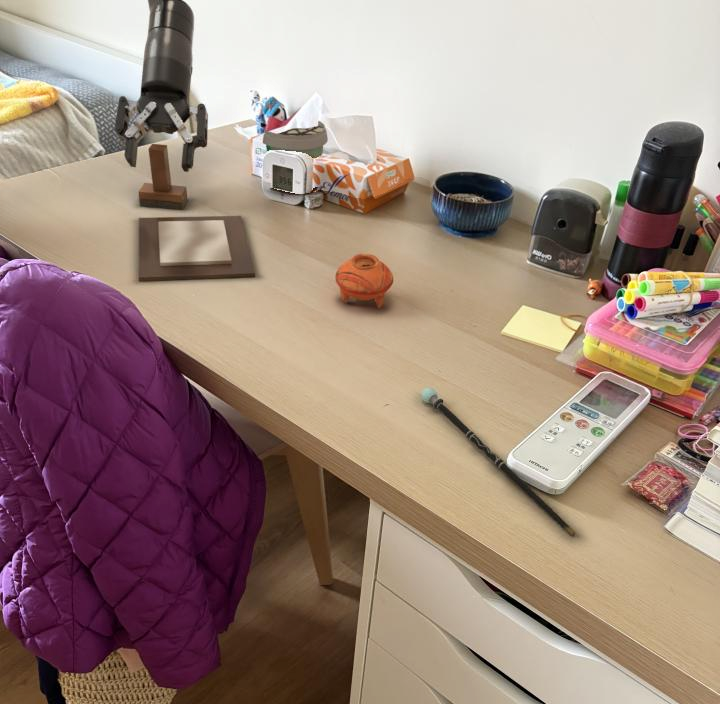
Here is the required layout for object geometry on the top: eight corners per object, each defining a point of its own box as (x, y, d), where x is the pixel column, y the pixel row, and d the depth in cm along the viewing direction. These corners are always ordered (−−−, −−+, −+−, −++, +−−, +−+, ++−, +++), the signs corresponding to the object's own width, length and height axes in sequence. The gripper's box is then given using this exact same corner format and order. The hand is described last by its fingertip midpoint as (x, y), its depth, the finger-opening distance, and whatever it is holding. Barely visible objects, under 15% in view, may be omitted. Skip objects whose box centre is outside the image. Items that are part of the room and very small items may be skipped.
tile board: (139, 281, 99) (137, 273, 98) (139, 221, 113) (138, 213, 112) (255, 276, 102) (254, 269, 101) (241, 219, 116) (240, 211, 116)
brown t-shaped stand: (139, 206, 117) (132, 148, 111) (146, 196, 120) (138, 140, 114) (182, 209, 117) (177, 152, 111) (187, 200, 120) (182, 144, 114)
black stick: (569, 544, 69) (566, 537, 68) (421, 399, 84) (416, 392, 82) (582, 532, 69) (580, 525, 67) (432, 389, 83) (427, 382, 82)
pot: (405, 296, 100) (405, 256, 95) (370, 327, 97) (368, 287, 92) (361, 275, 104) (358, 235, 98) (326, 304, 100) (321, 264, 95)
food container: (283, 202, 123) (283, 141, 116) (263, 190, 126) (262, 130, 119) (339, 189, 129) (342, 130, 122) (319, 178, 132) (321, 120, 125)
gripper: (115, 49, 111) (105, 151, 110) (207, 58, 111) (198, 159, 111) (130, 79, 118) (121, 174, 118) (216, 86, 119) (207, 182, 118)
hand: (158, 167), depth 114 cm, fingers open, 8 cm apart
